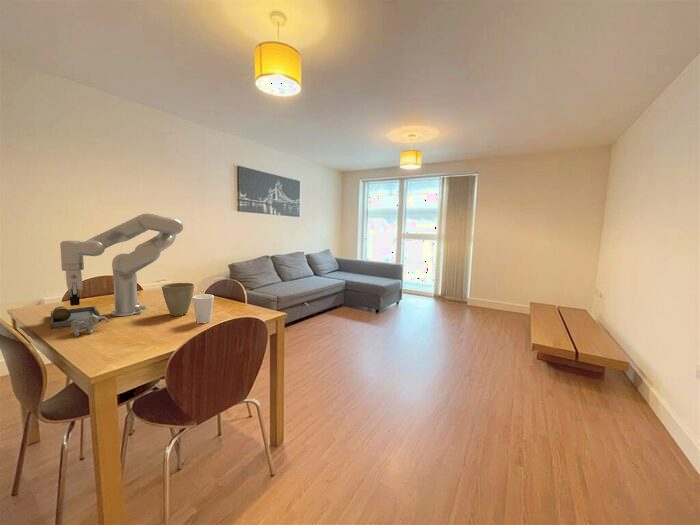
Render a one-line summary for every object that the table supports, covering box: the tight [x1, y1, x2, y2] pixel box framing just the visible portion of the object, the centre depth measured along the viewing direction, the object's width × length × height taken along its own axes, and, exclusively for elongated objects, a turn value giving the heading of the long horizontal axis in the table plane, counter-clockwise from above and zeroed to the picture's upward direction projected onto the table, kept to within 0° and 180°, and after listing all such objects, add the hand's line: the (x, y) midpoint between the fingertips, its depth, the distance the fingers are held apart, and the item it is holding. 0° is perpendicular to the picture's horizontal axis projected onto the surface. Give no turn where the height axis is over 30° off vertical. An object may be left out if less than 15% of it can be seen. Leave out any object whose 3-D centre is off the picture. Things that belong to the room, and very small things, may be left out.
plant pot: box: [161, 282, 195, 316], centre depth 154 cm, size 15×15×16 cm
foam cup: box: [192, 293, 215, 324], centre depth 144 cm, size 10×9×13 cm
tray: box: [50, 305, 102, 330], centre depth 139 cm, size 24×17×2 cm
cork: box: [52, 305, 71, 322], centre depth 137 cm, size 6×6×11 cm
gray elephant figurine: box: [70, 313, 110, 338], centre depth 124 cm, size 9×12×8 cm
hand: (75, 304), depth 137 cm, fingers closed
